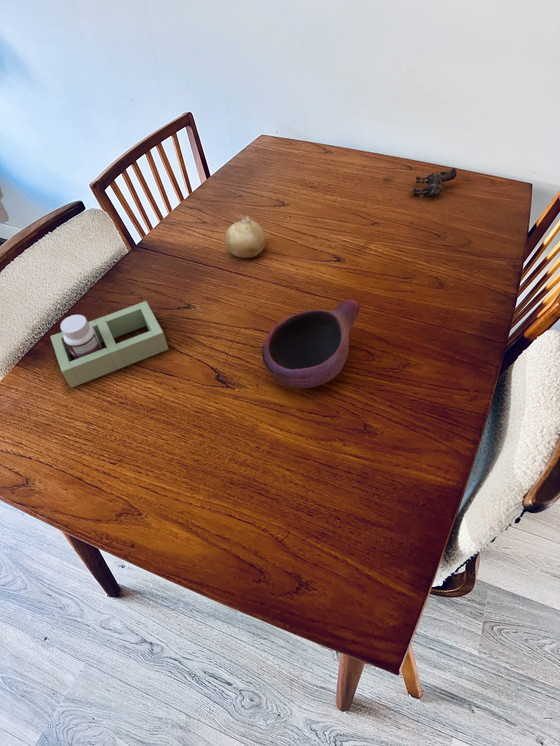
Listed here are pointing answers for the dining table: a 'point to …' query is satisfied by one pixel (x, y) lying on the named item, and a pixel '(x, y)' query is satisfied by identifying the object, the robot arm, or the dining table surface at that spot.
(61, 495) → the dining table surface
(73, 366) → the holder
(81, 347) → the pill bottle
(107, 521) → the dining table surface
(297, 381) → the bowl
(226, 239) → the onion
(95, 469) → the dining table surface
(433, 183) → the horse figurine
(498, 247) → the dining table surface
